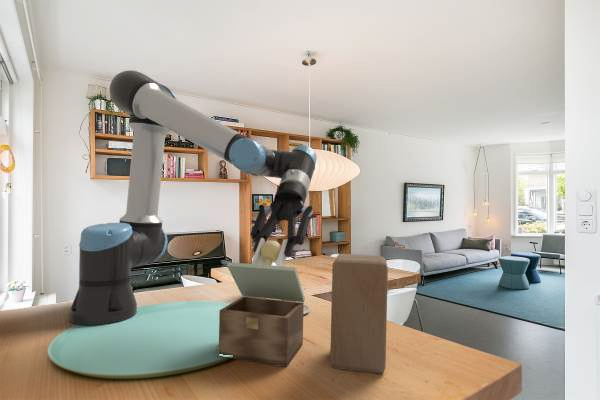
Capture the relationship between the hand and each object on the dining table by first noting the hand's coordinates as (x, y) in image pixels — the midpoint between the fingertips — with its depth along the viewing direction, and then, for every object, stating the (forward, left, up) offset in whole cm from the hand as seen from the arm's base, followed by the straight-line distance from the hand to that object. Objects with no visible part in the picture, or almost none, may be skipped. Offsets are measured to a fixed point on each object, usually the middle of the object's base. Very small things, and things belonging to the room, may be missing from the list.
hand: (267, 266), depth 75 cm
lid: (0, 0, -4) cm, 4 cm away
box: (0, -1, -17) cm, 17 cm away
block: (+19, -5, -17) cm, 26 cm away
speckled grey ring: (+4, +26, -17) cm, 31 cm away
